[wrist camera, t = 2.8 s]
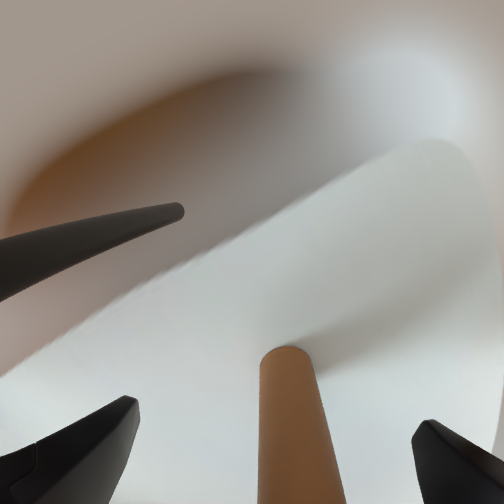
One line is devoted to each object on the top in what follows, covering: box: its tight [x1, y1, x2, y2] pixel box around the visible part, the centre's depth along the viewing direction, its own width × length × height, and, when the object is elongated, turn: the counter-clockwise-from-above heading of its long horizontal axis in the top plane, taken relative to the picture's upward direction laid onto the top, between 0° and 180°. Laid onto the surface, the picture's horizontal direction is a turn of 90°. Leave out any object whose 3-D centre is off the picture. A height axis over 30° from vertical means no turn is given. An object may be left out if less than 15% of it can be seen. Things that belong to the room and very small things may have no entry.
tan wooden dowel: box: [257, 346, 346, 504], centre depth 7 cm, size 2×2×8 cm
